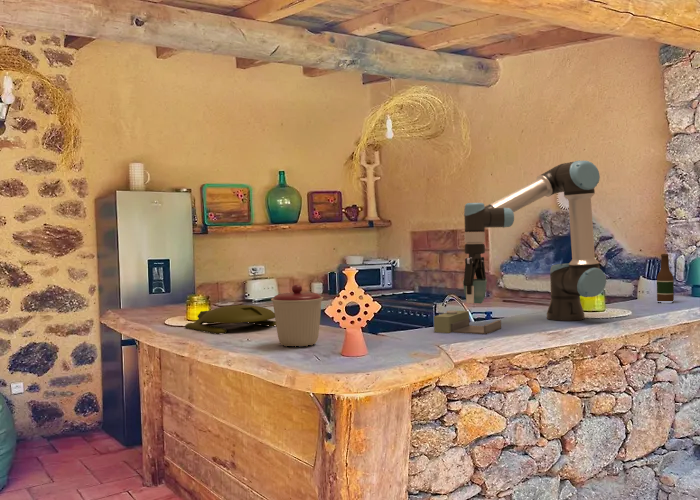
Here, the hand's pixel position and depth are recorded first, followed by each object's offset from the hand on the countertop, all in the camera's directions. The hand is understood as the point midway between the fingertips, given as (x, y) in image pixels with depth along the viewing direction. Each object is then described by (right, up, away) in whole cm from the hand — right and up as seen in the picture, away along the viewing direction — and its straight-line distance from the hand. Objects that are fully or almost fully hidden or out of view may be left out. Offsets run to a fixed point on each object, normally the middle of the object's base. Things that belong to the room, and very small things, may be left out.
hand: (475, 301), depth 267 cm
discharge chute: (0, -11, 0) cm, 11 cm away
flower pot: (0, -1, 0) cm, 1 cm away
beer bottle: (+107, -6, +76) cm, 131 cm away
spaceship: (-95, -13, +25) cm, 99 cm away
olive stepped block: (-8, -11, +6) cm, 15 cm away
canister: (-66, -14, -23) cm, 71 cm away
